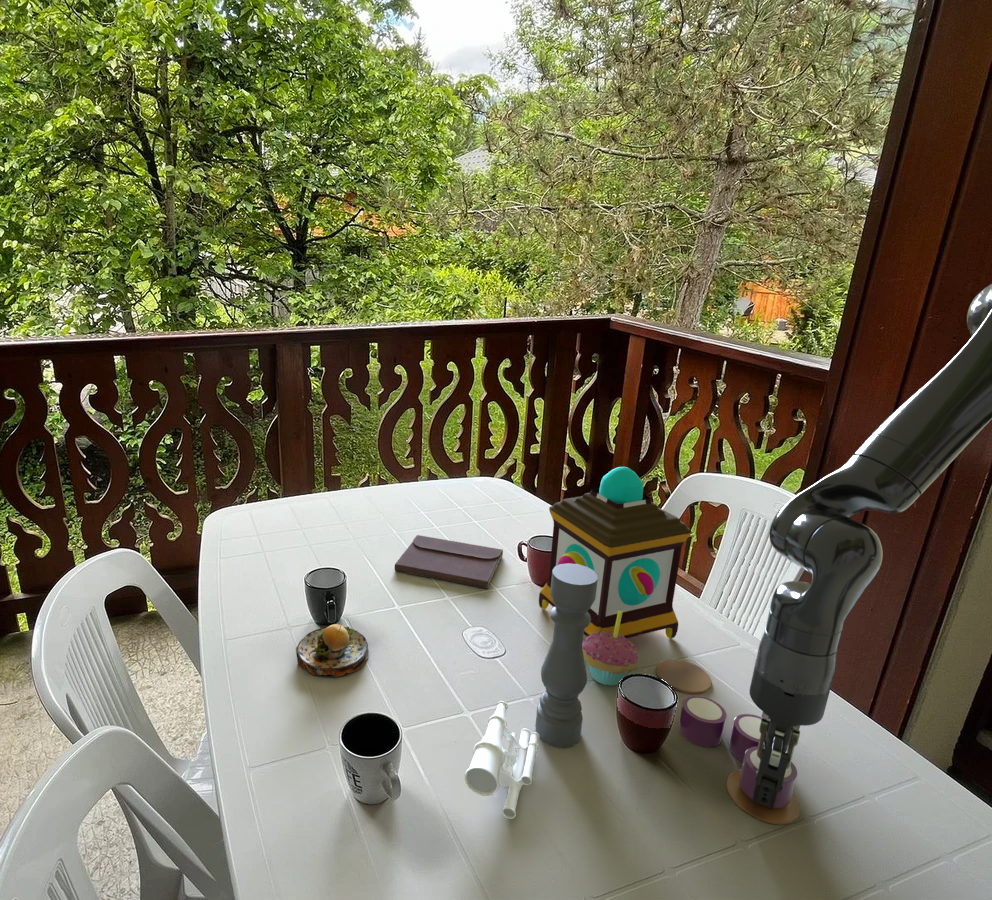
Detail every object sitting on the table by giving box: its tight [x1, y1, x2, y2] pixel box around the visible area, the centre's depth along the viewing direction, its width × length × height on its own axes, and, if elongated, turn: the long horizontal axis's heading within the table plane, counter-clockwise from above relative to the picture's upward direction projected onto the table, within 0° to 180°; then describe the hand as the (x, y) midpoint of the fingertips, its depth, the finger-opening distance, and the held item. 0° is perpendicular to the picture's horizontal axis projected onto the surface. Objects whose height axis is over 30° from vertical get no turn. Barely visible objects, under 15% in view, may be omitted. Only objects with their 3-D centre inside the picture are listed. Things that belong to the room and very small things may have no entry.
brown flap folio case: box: [394, 534, 504, 589], centre depth 136 cm, size 15×20×2 cm
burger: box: [295, 623, 370, 678], centre depth 105 cm, size 12×12×8 cm
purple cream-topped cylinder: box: [677, 695, 728, 748], centre depth 89 cm, size 6×6×4 cm
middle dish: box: [728, 713, 765, 763], centre depth 85 cm, size 6×6×4 cm
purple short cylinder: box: [739, 746, 798, 808], centre depth 78 cm, size 6×6×4 cm
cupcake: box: [582, 606, 639, 686], centre depth 99 cm, size 9×8×12 cm
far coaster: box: [655, 658, 712, 695], centre depth 101 cm, size 8×8×1 cm
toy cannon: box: [464, 700, 541, 820], centre depth 82 cm, size 8×14×5 cm
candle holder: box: [534, 563, 598, 749], centre depth 86 cm, size 6×6×25 cm
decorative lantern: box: [538, 466, 692, 639], centre depth 111 cm, size 20×20×30 cm
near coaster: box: [726, 769, 801, 826], centre depth 79 cm, size 8×8×1 cm
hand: (765, 786), depth 78 cm, fingers closed on purple short cylinder, 5 cm apart
